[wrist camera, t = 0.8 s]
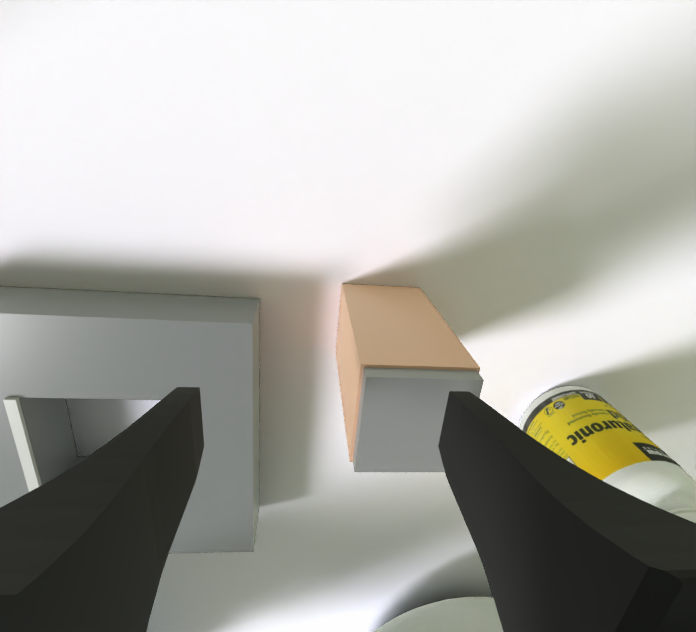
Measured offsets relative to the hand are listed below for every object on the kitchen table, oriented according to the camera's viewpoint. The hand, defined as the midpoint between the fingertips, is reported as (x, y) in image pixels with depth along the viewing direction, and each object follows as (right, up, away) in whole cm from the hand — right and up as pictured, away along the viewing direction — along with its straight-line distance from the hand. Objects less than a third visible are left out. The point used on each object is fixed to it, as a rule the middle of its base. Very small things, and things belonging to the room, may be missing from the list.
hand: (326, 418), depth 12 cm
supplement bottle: (+13, -3, +13) cm, 19 cm away
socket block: (-11, -2, +10) cm, 15 cm away
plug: (+2, +3, +10) cm, 10 cm away
